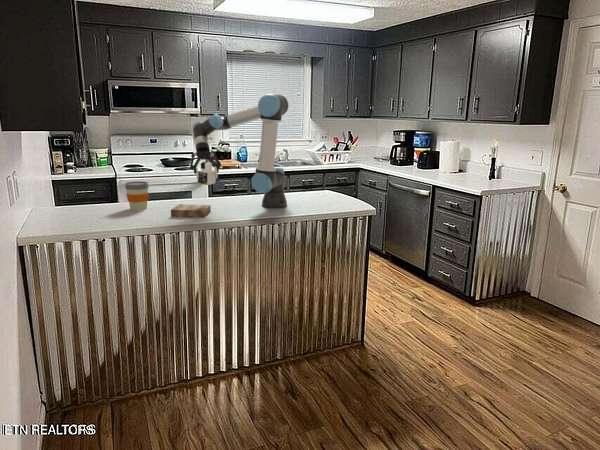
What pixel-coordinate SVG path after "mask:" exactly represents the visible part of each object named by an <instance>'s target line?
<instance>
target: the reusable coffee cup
mask: <svg viewBox="0 0 600 450" xmlns="http://www.w3.org/2000/svg"><path fill="white" fill-rule="evenodd" d="M124 186H125V191H126V193H125V195H126V198H127V202H128V204H129V209H130V210H131V211H135V210H139V211H143V210H144V211H145V210H147V208H148V201H149V189H150V187H149V183H148V182H147V181H138V180H137V181H127V182H126V183H125V184H124Z"/></svg>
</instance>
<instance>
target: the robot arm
mask: <svg viewBox="0 0 600 450" xmlns="http://www.w3.org/2000/svg"><path fill="white" fill-rule="evenodd" d="M288 110H289V101H288V99H287V98H286V97H285V96H283V94H276V93H275V94H274V93H267V94H264V95H262V96H261V97H260V99H259V101H258V104H257V105H256V106H253V107H249V108H246V109H244V110H240V111H236V112H234V113H230V114H228V115H224V116H221V115H219V114H218V113H215V114H213V115H210V116H209V117H208V118H207V119H206V120H204V121H203V122H202V121H198V122H194V124H192V133H193V139H194V145H195V151H196V152H193V151H192V152H191V154H190V156H191V159H190V164H189V169H192V170H193V173H194V175H196V180H198V179H199V175H198V171H199V169H198V165H199V163H201V161H203V160H204V161H205V160H206V161H207V162H210V163H212V167H214V169H213V171H215V178H216V179H218V178H219V177H218V176H219V171H220V170H219V169H220V168H221V167H222V163H221V162H220V160H219V158H218V156H217V153H216V151H213V152H212V151H211V150H210V145H209V140H208V138H209V137H208V136H209V135H211V134H212V133H213V132H215V131H226V130H230V129H232V128H235V127H238V126H241V125H245V124H248V123H251V122H255V121H258V120H261V122H262V123H261V137H260V145H259V146H260V148H259V159H258V165H257V166H256V167H255V173H254V175H253V176H252V178H251V185H252V188H253V189H254V190H255V191H256V192H257V193H260V194H263V198H262V201H261V206H262V207H264V208H271V209H279V208H285V207H287V206H288V202H287V197H286V195H285V170H284V168H282V167H275V162H276V161H275V160H276V150H277V142H278V141H277V138H278V129H279V124H280V123H281V122H282V118H283V117H282V116H284V115H285V114H286V113H287V112H288ZM195 157H197V159H196V161H195V163H194V159H195ZM212 157H213V158H212Z"/></svg>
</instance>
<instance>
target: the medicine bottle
mask: <svg viewBox="0 0 600 450" xmlns="http://www.w3.org/2000/svg"><path fill="white" fill-rule="evenodd" d="M198 175H199V179H197V184H198V185H205V186H209V185H214V184H217V183H216V176H215V170H213V165H212V163H210V162H209V161H202V162H200V170H198Z"/></svg>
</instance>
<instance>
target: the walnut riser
mask: <svg viewBox="0 0 600 450" xmlns="http://www.w3.org/2000/svg"><path fill="white" fill-rule="evenodd" d="M211 208H212V207H211V205H210V204H177V205H176V206H174V207H173V208H171V209H170V218H188V219H189V218H190V219H192V218H193V219H197V218H198V219H205V218H206V217H207V216H208V215H209V214H210V213H211V212H212V209H211Z"/></svg>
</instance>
